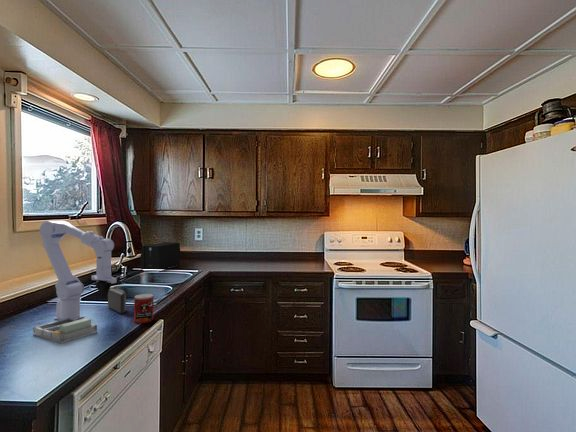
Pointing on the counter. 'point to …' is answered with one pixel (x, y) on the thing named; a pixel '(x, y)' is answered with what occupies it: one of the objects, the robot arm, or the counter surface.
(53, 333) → the rack
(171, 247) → the uninterruptible power supply
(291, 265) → the counter surface
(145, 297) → the canned food
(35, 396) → the counter surface
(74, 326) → the pale green rectangular box
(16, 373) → the counter surface
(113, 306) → the leaning round-cornered charcoal block
